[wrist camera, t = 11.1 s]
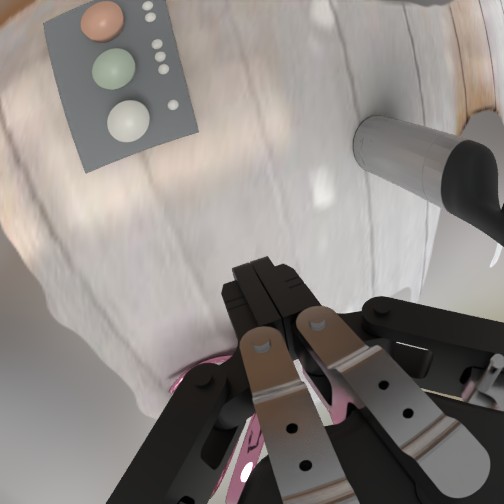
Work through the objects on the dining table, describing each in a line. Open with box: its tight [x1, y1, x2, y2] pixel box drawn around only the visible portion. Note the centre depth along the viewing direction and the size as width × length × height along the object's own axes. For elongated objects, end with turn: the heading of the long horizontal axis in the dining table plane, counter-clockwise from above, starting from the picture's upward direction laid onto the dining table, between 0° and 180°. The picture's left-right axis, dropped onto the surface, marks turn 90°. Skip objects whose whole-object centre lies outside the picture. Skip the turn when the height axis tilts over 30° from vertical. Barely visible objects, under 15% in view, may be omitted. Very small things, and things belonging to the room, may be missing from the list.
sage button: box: [92, 48, 136, 90], centre depth 25 cm, size 4×4×3 cm
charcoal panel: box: [43, 0, 199, 173], centre depth 27 cm, size 14×20×2 cm
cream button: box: [107, 100, 150, 142], centre depth 28 cm, size 4×4×3 cm
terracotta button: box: [81, 1, 125, 43], centre depth 22 cm, size 4×4×3 cm
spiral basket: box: [169, 355, 264, 504], centre depth 46 cm, size 28×28×27 cm
